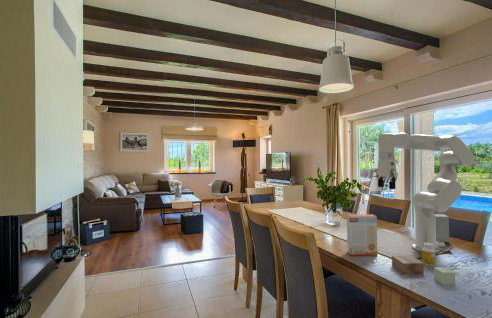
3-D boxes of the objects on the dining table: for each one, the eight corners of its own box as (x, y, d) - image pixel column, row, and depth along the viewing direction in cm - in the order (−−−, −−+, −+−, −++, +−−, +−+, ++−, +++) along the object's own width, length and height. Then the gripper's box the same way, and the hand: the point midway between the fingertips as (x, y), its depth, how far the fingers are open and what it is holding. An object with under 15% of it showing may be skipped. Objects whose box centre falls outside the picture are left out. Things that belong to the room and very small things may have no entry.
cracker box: (373, 252, 143) (373, 213, 143) (377, 256, 137) (377, 216, 137) (346, 251, 145) (346, 213, 145) (350, 255, 139) (349, 216, 139)
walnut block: (410, 266, 126) (410, 255, 126) (423, 274, 117) (423, 263, 117) (392, 266, 126) (391, 255, 126) (403, 274, 117) (403, 263, 117)
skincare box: (445, 239, 163) (445, 214, 163) (450, 243, 156) (449, 216, 156) (429, 238, 166) (429, 213, 166) (433, 241, 159) (433, 215, 159)
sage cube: (445, 279, 112) (445, 267, 112) (455, 284, 107) (455, 272, 107) (434, 279, 112) (433, 267, 112) (442, 284, 107) (442, 272, 107)
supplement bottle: (419, 262, 130) (419, 242, 130) (429, 261, 130) (429, 241, 130) (427, 266, 124) (427, 245, 124) (438, 266, 125) (438, 245, 125)
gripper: (403, 156, 135) (403, 189, 135) (382, 156, 152) (382, 186, 152) (390, 156, 134) (390, 190, 134) (370, 156, 151) (370, 186, 151)
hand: (386, 187), depth 143 cm, fingers open, 9 cm apart
